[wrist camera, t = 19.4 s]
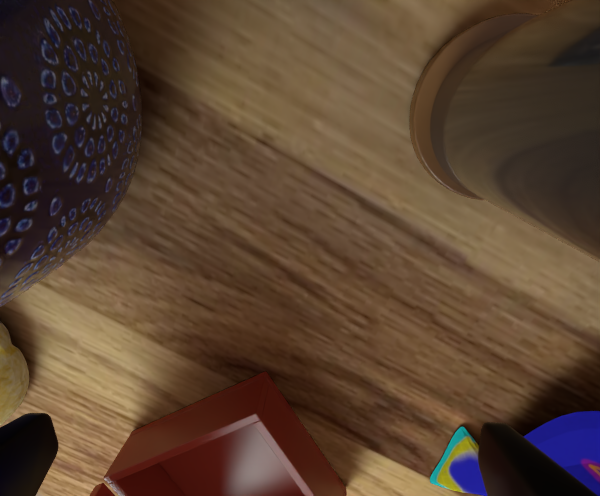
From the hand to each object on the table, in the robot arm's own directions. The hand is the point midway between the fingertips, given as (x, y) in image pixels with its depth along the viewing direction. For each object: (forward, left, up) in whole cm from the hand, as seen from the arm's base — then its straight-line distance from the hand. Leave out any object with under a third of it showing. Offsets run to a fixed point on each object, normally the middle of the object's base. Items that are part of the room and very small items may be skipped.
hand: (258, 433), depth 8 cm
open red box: (+4, +15, -13) cm, 20 cm away
